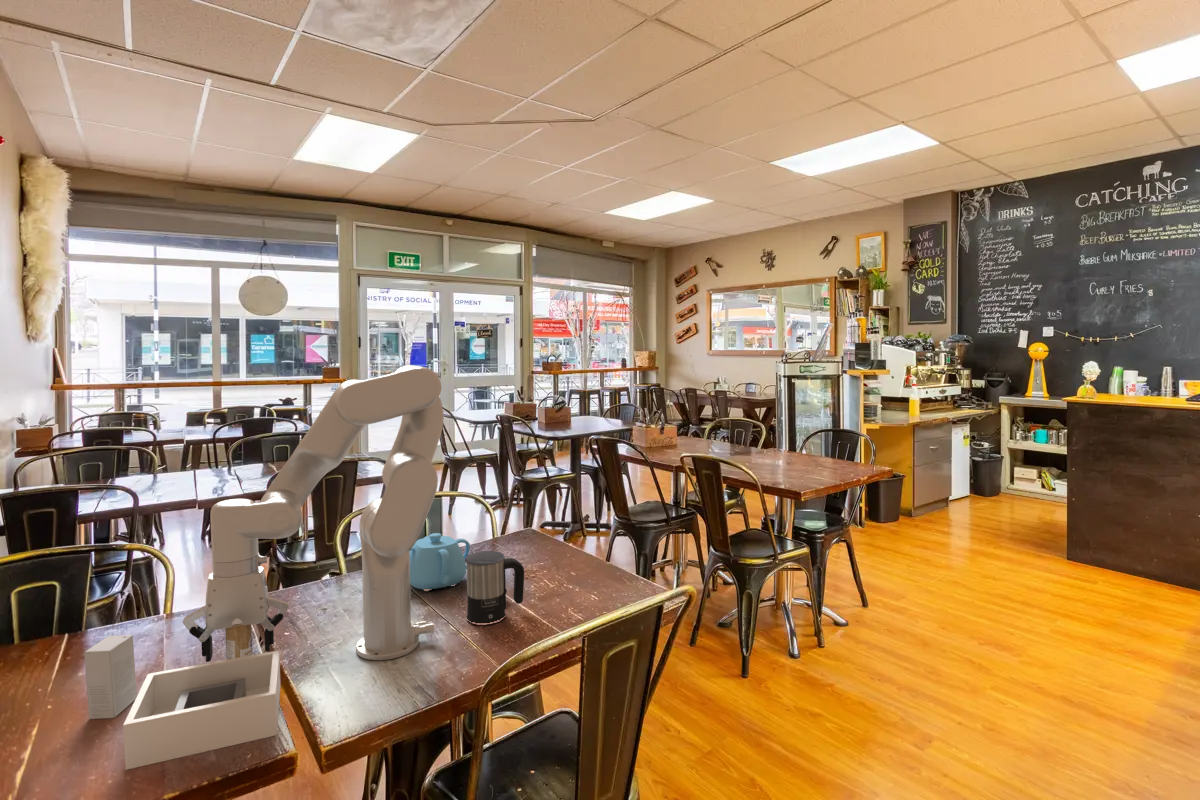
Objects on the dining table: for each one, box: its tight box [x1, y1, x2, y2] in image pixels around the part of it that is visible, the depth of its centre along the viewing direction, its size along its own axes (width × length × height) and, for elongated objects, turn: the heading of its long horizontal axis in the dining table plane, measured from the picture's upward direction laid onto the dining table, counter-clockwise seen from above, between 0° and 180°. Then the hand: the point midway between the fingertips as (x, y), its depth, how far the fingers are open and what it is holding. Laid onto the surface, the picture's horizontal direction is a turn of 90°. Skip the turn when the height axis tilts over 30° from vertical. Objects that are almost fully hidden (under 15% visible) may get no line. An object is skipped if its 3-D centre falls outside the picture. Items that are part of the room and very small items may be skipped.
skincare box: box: [83, 634, 138, 720], centre depth 107 cm, size 6×4×12 cm
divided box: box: [122, 650, 281, 771], centre depth 103 cm, size 20×16×7 cm
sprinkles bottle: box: [224, 619, 254, 660], centre depth 117 cm, size 5×5×14 cm
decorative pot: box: [410, 532, 471, 590], centre depth 166 cm, size 16×16×14 cm
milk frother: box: [465, 550, 525, 623], centre depth 149 cm, size 14×16×15 cm
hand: (239, 653), depth 117 cm, fingers open, 9 cm apart
